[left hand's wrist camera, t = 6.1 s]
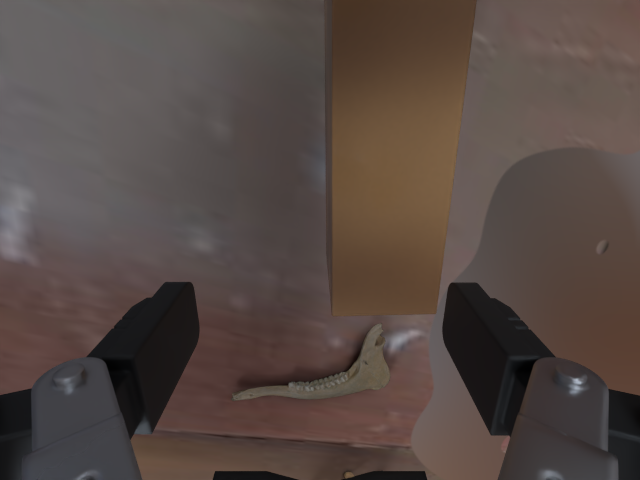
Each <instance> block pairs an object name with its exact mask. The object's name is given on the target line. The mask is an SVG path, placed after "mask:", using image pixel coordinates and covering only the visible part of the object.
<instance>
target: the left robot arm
mask: <svg viewBox="0 0 640 480" xmlns="http://www.w3.org/2000/svg"><path fill="white" fill-rule="evenodd" d="M442 329H443V330H442V332H443V340H444V343H445V346H446V348H447V350H448V352H449V354H450V356H451V358H452V360H453V362H454V364H455V366H456V368H457V370H458V371H459V374H460V376H461V377H462V379H463V381H464V383H465V385H466V387H467V389H468V391H469V393H470V395H471V397H472V399H473V401H474V403H475V405H476V407H477V409H478V411H479V413H480V415H481V417H482V419H483V421H484V423H485V425H486V427H487V428H488V430H489V432H490V434H491V435H509V436H510V441H509V444H508V448H507V451H506V454H505V457H504V461H503V464H502V467H501V470H500V474H499V477H498V480H640V396H638V395H634V394H629V393H625V392H620V391H615V390H610V389H608V387H607V385H606V384H605V382H604V381H603V380H602V379H601V378H600V377H599V376H598V375H597V374H595V373H594V372H593V371H591V370H590V369H588V368H586V367H584V366H582V365H580V364H578V363H575V362H573V361H570V360H566V359H562V358H556V357H555V356H554V355H553V354H552V353H551V351H550V350H549V349H548V348H547V347H546V346H545V345H544V344H543V343H542V342H541V341H540V339H539V338H538V337H537V336H536V335H535V334H534V333H533V332H532V331H531V330H529V329H528V326H527V325H526V324H525V323H524V322H523V321H522V320H520V318H519V317H518V315H517V314H516V313H515V312H514V311H513V310H512V309H511V308H510V307H509V306H507V305H505V304H504V303H502V302H500V301H498V300H497V299H495V298H490V297H489V296H488V295H487V294H486V292H485V291H484V290H483V289H482V288H481V287H480V285H479V284H478V283H451V284H450V285H449V287H448V292H447V299H446V306H445V313H444V319H443V328H442ZM198 338H199V320H198V313H197V306H196V299H195V292H194V287H193V284H192V283H191V282H165V283H164V284H163V285H162V286H161V287H160V289H159V290H158V291H157V292H156V293H155V294H154V296H153V297H152V298H146V299H144V300H143V301H141V302H139V303H138V304H136V305H134V306H133V307H131V309H130V310H129V311H128V312H127V313H126V314H125V315H124V316H123V317H122V320H120V321H119V322H118V323H117V324H116V325H115V326H114V329H111V331H110V332H109V333H108V334H107V335H106V336H105V337H104V338H103V339H102V340H101V342H100V343H99V344H98V345H97V346H96V347H95V348H94V349H93V350H92V352H91V353H90V354H89V355H88V356H87V357H84V358H78V359H74V360H70V361H67V362H65V363H62V364H60V365H58V366H56V367H54V368H52V369H50V370H49V371H47V372H46V373H45V374H43V375H42V376H41V377H40V378H39V379H38V380H37V381H36V382H35V384H34V385H33V387H32V389H27V390H22V391H18V392H13V393H8V394H4V395H0V480H142V477H141V474H140V470H139V467H138V464H137V461H136V457H135V454H134V451H133V448H132V444H131V441H130V440H131V438H132V436H133V434H152V433H153V431H154V429H155V427H156V425H157V423H158V421H159V419H160V417H161V415H162V413H163V411H164V409H165V407H166V405H167V403H168V401H169V399H170V397H171V395H172V393H173V391H174V389H175V387H176V385H177V383H178V381H179V379H180V377H181V375H182V373H183V371H184V369H185V367H186V365H187V363H188V361H189V359H190V357H191V355H192V353H193V351H194V349H195V347H196V345H197V342H198ZM213 480H297V479H294V478H290V477H286V476H282V475H279V474H275V473H271V472H267V471H215V474H214V477H213ZM343 480H427V477H426V474H425V471H373V472H369V473H365V474H361V475H358V476H354V477H350V478H346V479H343Z"/></svg>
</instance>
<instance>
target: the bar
mask: <svg viewBox="0 0 640 480" xmlns="http://www.w3.org/2000/svg"><path fill="white" fill-rule="evenodd" d="M476 1H477V0H325V141H326V256H327V267H328V278H329V289H330V300H331V311H332V316H367V315H411V314H436V311H437V303H438V295H439V288H440V280H441V272H442V264H443V257H444V249H445V241H446V233H447V226H448V218H449V210H450V203H451V195H452V187H453V179H454V172H455V164H456V156H457V148H458V141H459V133H460V125H461V117H462V110H463V102H464V94H465V87H466V79H467V71H468V63H469V56H470V48H471V40H472V32H473V25H474V17H475V9H476Z"/></svg>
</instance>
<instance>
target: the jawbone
mask: <svg viewBox="0 0 640 480" xmlns="http://www.w3.org/2000/svg"><path fill="white" fill-rule="evenodd" d="M381 327H382V323H380V324H377V325H375V326H373V327H372V328H371V330H370V331H369V332H368V333H367V335H366V337H365V339H364V342H363V345H362V348H361V352H360V355H359V357H358V359H357V361H356V362H354V363H353V365H352V367H351V368H350V369H349V370H348V371H346V372H341V373H339V375H338V374H337V373H336V375H334V377H333V376H332V375H331V376H329V377H328V378H327V377H325V378H324V379H319V381H317V379H316V380H314V381H313V382H311V383H309V382H306V383H304V382H301V381H300V382H297V383H295V382H291V383H290V382H289V385H287V386H266V387H258V388H252V389H246V390H242V391H238V392H235V393H232V396H233V398H232V399H231V400H232V401H235V400H244V399H253V398H256V397H260V396H267V395H276V396H285V397H291V398H299V399H324V398H331V397H337V396H343V395H347V394H352V393H356V392H360V391H363V390H366V389H373V390H378V389H380V388H382V387H383V388H384V387H385V386H386V385H387V384H388V382H389V381H390V380H389V379H390V372H389V368H388V366H387V363H386V361H385V359H384V356H383V347H384V344H385V338H383V337H381V336H380V334H381V333H382V332H383V331H384V330H382V329H381Z"/></svg>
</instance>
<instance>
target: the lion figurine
mask: <svg viewBox="0 0 640 480" xmlns="http://www.w3.org/2000/svg"><path fill="white" fill-rule="evenodd" d="M350 477H354V475H353V473H351V472H345V473H344V478H345V479H346V478H350Z"/></svg>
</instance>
